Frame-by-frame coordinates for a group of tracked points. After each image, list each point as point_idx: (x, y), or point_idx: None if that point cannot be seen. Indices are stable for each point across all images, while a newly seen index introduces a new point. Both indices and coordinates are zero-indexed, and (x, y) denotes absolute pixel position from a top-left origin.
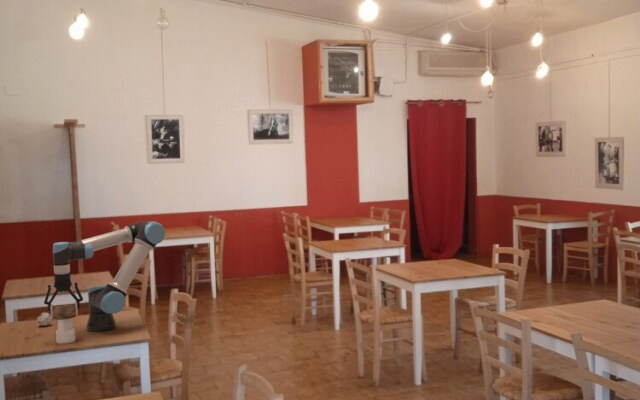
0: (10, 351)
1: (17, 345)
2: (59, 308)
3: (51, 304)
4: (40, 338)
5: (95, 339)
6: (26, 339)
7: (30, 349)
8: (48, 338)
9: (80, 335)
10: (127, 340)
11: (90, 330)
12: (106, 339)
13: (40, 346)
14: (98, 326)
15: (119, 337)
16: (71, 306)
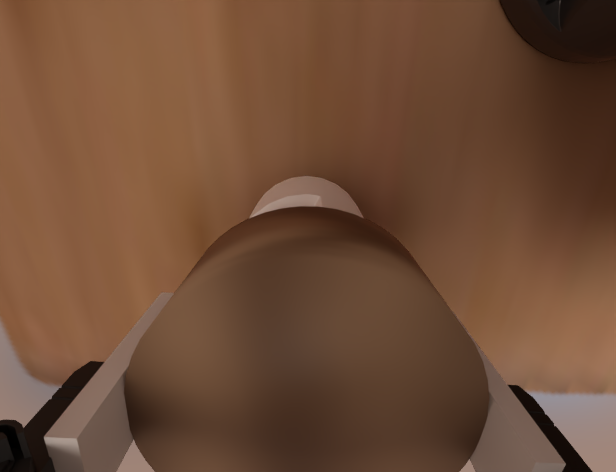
0: (21, 313)
1: (13, 192)
2: (239, 459)
3: (64, 456)
4: (126, 52)
5: (469, 281)
6: (18, 25)
7: (124, 322)
8: (188, 89)
9: (409, 119)
10: (599, 378)
11: (508, 10)
12: (520, 310)
13: (168, 286)
14: (588, 48)
15: (595, 302)
16: (421, 422)
